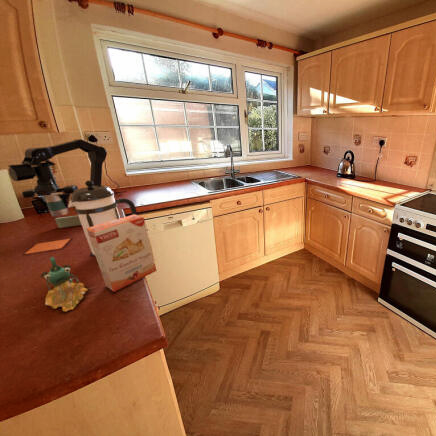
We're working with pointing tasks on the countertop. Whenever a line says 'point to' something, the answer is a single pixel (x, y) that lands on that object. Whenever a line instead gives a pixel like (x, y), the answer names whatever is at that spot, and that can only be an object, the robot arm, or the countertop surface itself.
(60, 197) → the can
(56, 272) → the frog figurine
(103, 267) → the cracker box
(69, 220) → the block
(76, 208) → the coffee press
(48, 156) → the robot arm
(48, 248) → the cloth
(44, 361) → the countertop surface
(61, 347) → the countertop surface
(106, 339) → the countertop surface
